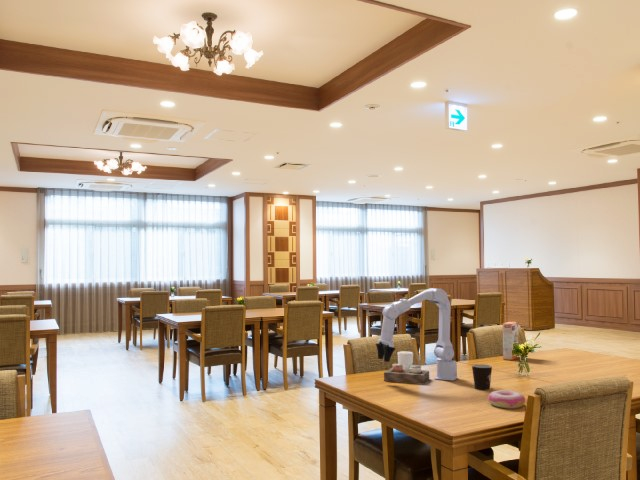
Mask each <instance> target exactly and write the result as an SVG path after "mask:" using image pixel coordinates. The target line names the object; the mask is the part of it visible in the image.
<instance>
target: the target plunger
mask: <svg viewBox="0 0 640 480" xmlns="http://www.w3.org/2000/svg"><path fill="white" fill-rule="evenodd" d="M391 366H392V367H391V368H392V371H393V372H403V364H398V363H393V364H392V365H391Z"/></svg>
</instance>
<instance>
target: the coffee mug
mask: <svg viewBox="0 0 640 480" xmlns="http://www.w3.org/2000/svg"><path fill="white" fill-rule="evenodd" d="M471 369H472V377H473V385H474V389H475V390H477V391H490V390H491V383H492V382H491V380H492V371H493V370H492V369H493V366H492V365H490V364H483V363H477V364H472V365H471Z"/></svg>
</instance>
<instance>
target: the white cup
mask: <svg viewBox="0 0 640 480" xmlns="http://www.w3.org/2000/svg"><path fill="white" fill-rule="evenodd" d="M413 361H414V352H413V351H408V350H407V351H405V350H402V351H397V364H403V369H411V368H410V366H411V365H414V364H413V363H414V362H413Z"/></svg>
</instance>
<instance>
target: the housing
mask: <svg viewBox="0 0 640 480" xmlns="http://www.w3.org/2000/svg"><path fill="white" fill-rule="evenodd" d="M429 380H430V370H426V369H425V370H424V369H423V370H422V369H421V373H420V374H417V373H411V369H403V372H393V371H392V367H390V368H389V369H387V370H385V371H384V372H383V382H394V383H404V382H407V384H419V385H424V384H425V383H427V381H429Z"/></svg>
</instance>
